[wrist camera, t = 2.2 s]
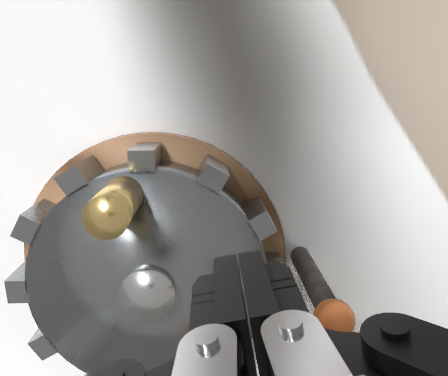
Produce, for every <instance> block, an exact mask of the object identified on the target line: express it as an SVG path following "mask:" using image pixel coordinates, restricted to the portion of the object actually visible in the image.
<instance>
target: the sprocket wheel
mask: <svg viewBox="0 0 448 376" xmlns="http://www.w3.org/2000/svg"><path fill="white" fill-rule="evenodd" d="M127 156H128V162H127V163H123V164H120V165H116V166H113V167H110V168H108V169H106V170H103V168H102V167H101V166H100V164H99V163H98V161H97V160H96V158H95V157H94V155H91V156H89V157H88V158H86V159H84V160H83V161H81V162H79V163H78V164H76V165H74V166H73V167H71V168H69V169H68V170H66V171H65V172H63V173H61V174H60V175H58V176H56V177H55V178H54V180H55V181H56V183H57V184H58V185H59V187H60V188H61V189H62V191H63V192H64V193H65V195H66V197H64V198H63V199H62V200H61V201H60V202H59V203H57V204H55V203H53V202H51V201H49V200H47V199H45V198H44V199H42V200H41V201H39V202H38V203H37V204H35V205H34V206H32V207H31V208H29V209H28V210H26V211H25V212H23V213H22V214H21V215H20V216H19V218H18V220H17V222H16V225H15V227H14V229H13V231H12V233H11V235H10V236H11V237H13V238H16V239H18V240H20V241H22V242H24V243H26V244H28V245H30V247H29V250H28V254H27V257H26V261H25V262H24V263H23V264H22V265H21V266H20V267H19V268H18V269H17V270H16V271H15V272H14V273H12V274H11V275H10V276H9V277H8V278H7V279H6V280H5V281H4V283H5V288H6V294H7V300H8V303H28V304H29V307H30V310H31V313H32V316H33V318H34V320H35V322H36V324H37V326H38V330H37V331H36V333H35V334H34V335H33V337H32V338H31V340H30V341H29V343H28V345H29V346H30V347H31V348H32V349H33V350H34V352H35V353H36V354H37V355H38V356H39V357H40V359H41V360H44V359H46V358H48V357H50V356H52V355H53V354H55V353H57V352H58V353H59V354H60V355H61V356H63V357H64V358H65V359H66V360H67V361H68V362H70V363H71V364H73V365H74V366H76V367H77V368H78V369H80V370H82V371H84V372H85V375H84V376H88V375H90V374H91V373H92V372H93V371H95V370H96V369H97V368H99V367H101V366H102V365H104V364H106V363H109V362H111V361H114V360H118V359H134V360H137V361H139V362H140V363H141V364H142V365H143V367H144V369H145V372H146V371H148V370H150V369H153V368H155V367H158V366H160V365H162V364H164V363H166V362H168V361H170V360H171V359H173V358H174V357H176V353H177V348H178V345H179V342H180V341H181V339H182V338H183V337H184V336H185V335H186V334H187V333H188V332H189V321H190V309H191V297H192V285H193V284H194V283H195V281H196V280H197V279H198V277H199V276H202V275H207V274H213V273H214V258H215V257H221V256H226V255H232V254H236V257H237V263H238V268H239V274H240V279H241V284H242V290H243V295H244V301H245V306H246V312H247V318H248V324H249V330H250V336H251V342H252V347H253V350H254V351H255V348H254V342H253V337H252V331H251V326H250V320H249V315H248V309H247V303H246V298H245V292H244V286H243V280H242V275H241V269H240V263H239V258H238V253H243V252H248V251H254V250H259V249H260V251H261V254H262V258H263V261H264V264H268V263H273V262H281V263H282V264H284V263H283V261H282V259H281V256H280V254H279V252H276V253H264V249H263V246H262V243H261V240H263V239H265V238H267V237H269V236H270V235H272V234H274V233H276V232H278V231H277V229H276V227H275V225H274V223H273V221H272V218H271V216H270V214H269V212H268V211H267V209H266V207H265V205H264V204H263V202H262V200H261V199H260V197H259V195H258V196H257V197H255V198H253V199H251V200H249V201H248V202H246V203H244V204H243V203H242V202H241V201H240V200H239V199H238V197H237V196H236V195H235V194H234V193H233V192H232V191H231V190H230V189H229V188H227V187H226V186H225V183H226V182H227V180H228V178H229V177H230V176H229V171H228V167H227V164H225V163H223V162H222V161H220V160H218V159H216V158H214V157H213V156H211V155H209V154H206V156H205V158H204V160H203V161H202V163H201V165H200V167H199V169H196V168H193V167H191V166H188V165H185V164H181V163H176V162H172V161H163V160H162V145H161V142H137V143H136V144H135V145H134V146H132V147H131V148H130V149H129V150H127Z"/></svg>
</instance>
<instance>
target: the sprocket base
mask: <svg viewBox="0 0 448 376" xmlns="http://www.w3.org/2000/svg"><path fill="white" fill-rule="evenodd" d="M137 142H161V145H162V160H163V161H172V162H176V163H181V164H185V165H188V166H191V167H193V168H196V169H199V167H200V165H201V163H202V161H203V160H204V158H205V156H206V154H209V155H211V156H213V157H214V158H216V159H218V160H220V161H222V162H223V163H225V164H227V167H228V171H229V176H230V177H229V178H228V180H227V182H226V183H225V186H226V187H227V188H229V189H230V190H231V191H232V192H233V193H234V194H235V195H236V196H237V197H238V199H239V200H240V201H241V202H242V203H243V204H244V203H246V202H248V201H249V200H251V199H253V198H255V197H257V196H258V195H259V197H260V199H261V200H262V202H263V204H264V205H265V207H266V209H267V211H268V212H269V214H270V216H271V218H272V221H273V223H274V225H275V227H276V229H277V231H278V232H276V233H274V234H272V235H270V236H269V237H267V238H265V239H263V240H261V243H262V246H263V249H264V253H276V252H279V254H280V256H281V259H282V261H283V263H284V265H285V248H284V239H283V233H282V230H281V226H280V222H279V219H278V216H277V214H276V212H275V209H274V207H273V205H272V203H271V201H270V199H269V198H268V196H267V194H266V193H265V191H264V189H263V188H262V186H261V185H260V184H259V183H258V181H257V180H256V179H255V178H254V177H253V175H252V174H251V173H250V172H249V171H248V170H247V169H246V168H244V167H243V166H242V165H241V164H240V163H239V162H238V161H236V160H235V159H233V158H232V157H231V156H229V155H228V154H226V153H225V152H223V151H221V150H219V149H218V148H216V147H214V146H212V145H210V144H207V143H205V142H202V141H199V140H197V139H194V138H191V137H186V136H182V135H178V134H171V133H161V132H147V133H135V134H129V135H122V136H119V137H116V138H112V139H109V140H106V141H103V142H101V143H99V144H97V145H95V146H92V147H90V148H88V149H86V150H84V151H83V152H81V153H80V154H78V155H77V156H75V157H74V158H72V159H70V160H69V161H68V162H67V163H66V164H65V165H63V166H62V167H61V168H60V169H59V170H58V171H57V172H56V173H55V174H54V175H53V176H52V177H51V179H50V180H49V181H48V182H47V183H46V184H45V186H44V188H43V189H42V191H41V192H40V194H39V195H38V197H37V199H36V201H35V203H34V205H35V204H37V203H38V202H39V201H41V200H42V199H44V198H45V199H47V200H49V201H51V202H53V203H55V204H57V203H59V202H60V201H61V200H62V199H63V198H64V197H66V195H65V193H64V192H63V191H62V189H61V188H60V187H59V185H58V184H57V183H56V181H55V180H54V178H55V177H56V176H58V175H60V174H61V173H63V172H65V171H66V170H68V169H69V168H71V167H73V166H74V165H76V164H78V163H79V162H81V161H83V160H84V159H86V158H88V157H89V156H91V155H94V157H95V158H96V160H97V161H98V163H99V164H100V166H101V167H102V168H103V170H106V169H108V168H110V167H113V166H116V165H120V164H123V163H127V162H128V156H127V150H129V149H130V148H131V147H132V146H134V145H135V144H136V143H137ZM29 247H30V245H28V244H26V243H24V254H25V261H26V257H27V254H28V250H29ZM290 256H291V259H292V262H293V264H294V266H295V268H296V270H297V272H298V274H299V276H300V278H301V280H302V283H303V285H304V287H305V289H306V291H307V293H308V295H309V297H310V299H311V301H312V304H313V306H314V308H315V311H314V316H315V317H316V318H318V320H319V321H320V323H321V324H322V326H323V327H325V328H327V329H330V330H334V331H340V332H353V330H354V327H355V317H354V313H353V311H352V310H351V308H350V307H349V306H348V305H347V304H346V303H345V302H343V301H341V300H338V299H336V298H335V296H334V295H333V293H332V291H331V290H330V288H329V286H328V285H327V283H326V281H325V280H324V278H323V276H322V275H321V273H320V271H319V270H318V268H317V266H316V265H315V263H314V261H313V259H312V258H311V256H310V254H309V253H308V251H307V250H306V249H305V248H304V247H296V248H294V249H293V250H292V252H291V255H290Z"/></svg>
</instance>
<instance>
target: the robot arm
mask: <svg viewBox="0 0 448 376" xmlns="http://www.w3.org/2000/svg"><path fill="white" fill-rule="evenodd" d="M238 258H239V263H240V269H241V275H242V280H243V286H244V292H245V298H246V303H247V309H248V315H249V320H250V326H251V331H252V337H253V342H254V348H255V353H256V359H257V364H258V369H259V375H260V376H448V329H446V328H443V327H440V326H437V325H435V324H432V323H429V322H426V321H423V320H420V319H417V318H414V317H412V316H408V315H405V314H400V313H380V314H376V315H373V316H371V317H369V318H367V319H366V320H365V321H364V322H363V323H362V325H361V328H360V333H356V332H340V331H334V330H330V329H327V328H325V327H323V326H322V324H321V323H320V321H319V320H318V318H316V317H315V316H314V315H312V314H311V313H309V311H308V309H307V307H306V304H305V302H304V300H303V298H302V295H301V293H300V291H299V289H298V286H297V284H296V282H295V280H294V278H293V275H292V273H291V271H290V268H289V267H287V266H286V265H284V264H282V263H281V262H273V263H268V264H264V261H263V258H262V254H261V251H260V249H259V250H254V251H248V252H243V253H238ZM88 376H257V371H256V365H255V359H254V353H253V347H252V342H251V336H250V330H249V324H248V318H247V312H246V306H245V301H244V295H243V290H242V284H241V279H240V274H239V268H238V263H237V257H236V254H232V255H226V256H221V257H215V258H214V273H213V274H207V275H202V276H199V277H198V279H197V280H196V281H195V283H194V284H193V285H192V297H191V309H190V321H189V332H188V333H187V334H186V335H185V336H184V337H183V338H182V339H181V341H180V342H179V345H178V348H177V353H176V357H174V358H173V359H171V360H170V361H168V362H166V363H164V364H162V365H160V366H158V367H155V368H153V369H150V370H148V371H146V372H145V369H144V367H143V365H142V364H141V363H140V362H139V361H137V360H134V359H118V360H114V361H111V362H109V363H106V364H104V365H102V366H101V367H99V368H97V369H96V370H95V371H93V372H92V373H91V374H90V375H88Z"/></svg>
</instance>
